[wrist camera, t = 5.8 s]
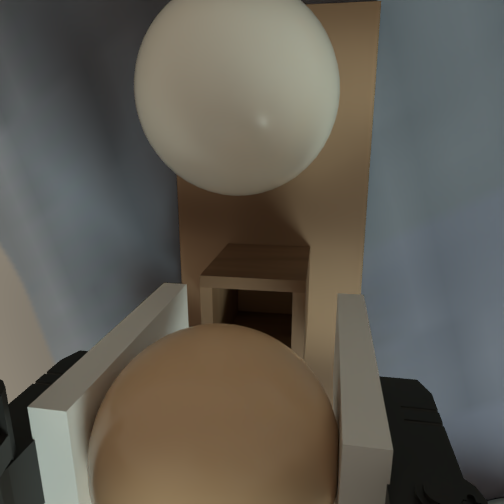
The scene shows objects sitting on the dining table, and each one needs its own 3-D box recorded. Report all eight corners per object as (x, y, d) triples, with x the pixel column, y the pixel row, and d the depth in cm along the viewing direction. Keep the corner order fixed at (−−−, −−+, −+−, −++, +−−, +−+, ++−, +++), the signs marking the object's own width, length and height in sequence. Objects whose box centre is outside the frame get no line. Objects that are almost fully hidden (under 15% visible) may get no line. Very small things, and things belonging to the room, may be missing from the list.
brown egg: (143, 283, 11) (1, 400, 6) (344, 296, 10) (355, 441, 5) (156, 448, 12) (46, 646, 7) (334, 471, 11) (335, 710, 6)
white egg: (170, 14, 12) (80, -56, 8) (342, 6, 12) (352, -76, 7) (178, 183, 14) (104, 208, 9) (333, 185, 13) (337, 214, 8)
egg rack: (172, 13, 16) (115, -32, 12) (379, 4, 15) (402, -51, 11) (197, 578, 24) (168, 681, 19) (338, 601, 23) (341, 717, 18)
